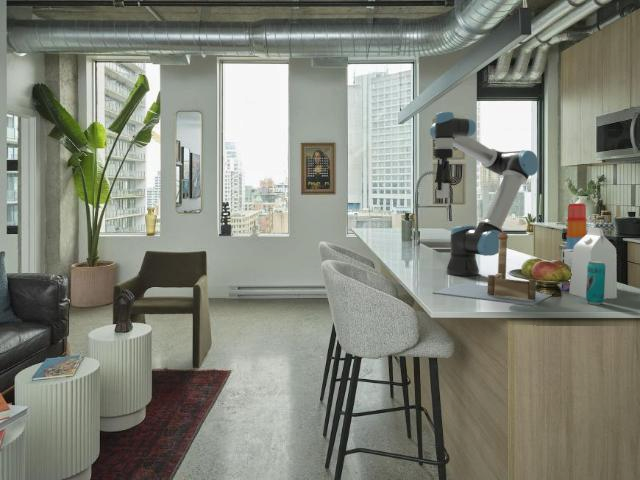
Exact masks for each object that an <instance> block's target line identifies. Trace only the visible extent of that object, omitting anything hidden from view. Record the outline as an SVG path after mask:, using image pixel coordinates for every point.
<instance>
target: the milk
mask: <svg viewBox="0 0 640 480" xmlns="http://www.w3.org/2000/svg"><path fill="white" fill-rule="evenodd" d="M586 233H587V235H585V236H584V237H583V238H582V239H581V240H580V241H579V242H578V243H576V245H575V246H574V249H573V259H572V269H571V273H572V276H571V279H570V290H568V293H569V294H570V295H573V296H574V295H575V296H577V297H580V298H584V299H586V286H587V265H588V263H589V261H603V262H605V263H604V264H605V266H606V268H605V288H604V300H605V299H607V298H608V299H618V297H617V295H618V292H617V291H618V290H617V289H618V287H617V285H618V284H617V279H618V278H617V249H616V247H615V245H613V243H612V242H611V241H609V240H608V239H607V237H606V236H605V234H604V229H603V228H601V227H592V226H591V227H588V229H587V231H586Z"/></svg>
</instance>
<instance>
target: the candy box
mask: <svg viewBox="0 0 640 480" xmlns="http://www.w3.org/2000/svg"><path fill="white" fill-rule="evenodd" d="M572 259H573V249H566V248H561V262H563V263H565V264H567V265H568V266H569V267H570V268H571V269H572ZM560 290H561V291H569V290H570V283H563V284H560Z"/></svg>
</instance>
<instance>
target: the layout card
mask: <svg viewBox="0 0 640 480" xmlns="http://www.w3.org/2000/svg"><path fill="white" fill-rule="evenodd" d="M537 291H538V290H536V296H535V300H530V299H524V298H516V297H507V296H499V295H495V293H494V295H488V294H487V292H488V285H483V284H476V283H465V282H462V283H459V284H458V283H457V284H455V285H452V286H449V287H445V288H441V289H439V290H436V291H433V292H432V294H437V295H443V296H451V297H458V298H459V297H460V298H468V299H476V300H485V301H493V302H499V303H507V304H517V305H522V306H523V305H524V306H535V305H537V304H539V303H541V302H543V301H545V300H547V299H549V298H551V297H552V295H545V294H541V293H539V292H537Z"/></svg>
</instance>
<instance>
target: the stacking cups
mask: <svg viewBox="0 0 640 480" xmlns="http://www.w3.org/2000/svg"><path fill="white" fill-rule="evenodd" d="M586 213H587V210H586V204H585V203H568V205H567V219H566V222H567V223H566V224H567V225H566V226H567V229H566V234H565V237H566V248H565V249H574V246H575V245H576V243H578V242H579V241H580V240H581V239H582V238H583V237H584V236H585V235H587V221H588V219H587V214H586Z"/></svg>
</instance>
